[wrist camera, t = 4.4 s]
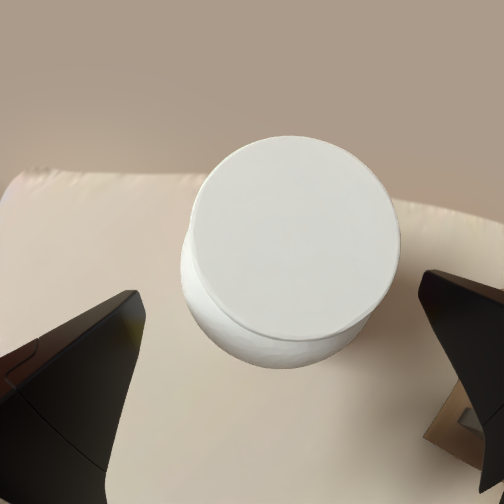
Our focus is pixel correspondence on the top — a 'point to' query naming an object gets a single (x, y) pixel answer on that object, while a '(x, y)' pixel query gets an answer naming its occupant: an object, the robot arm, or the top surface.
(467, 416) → the gray flat bar
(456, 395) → the brown piece
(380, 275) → the supplement bottle
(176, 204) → the top surface
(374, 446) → the top surface
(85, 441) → the robot arm
